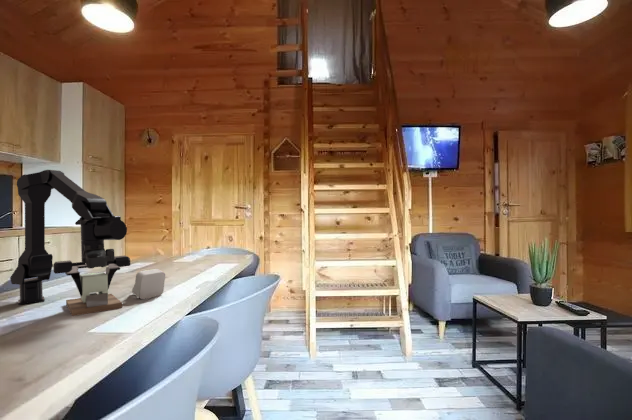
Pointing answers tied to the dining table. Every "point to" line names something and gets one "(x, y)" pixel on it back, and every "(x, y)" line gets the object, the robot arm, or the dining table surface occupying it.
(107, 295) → the cleat board
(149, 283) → the grey rounded block piece
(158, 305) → the dining table surface
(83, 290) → the block
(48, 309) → the dining table surface
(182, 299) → the dining table surface
